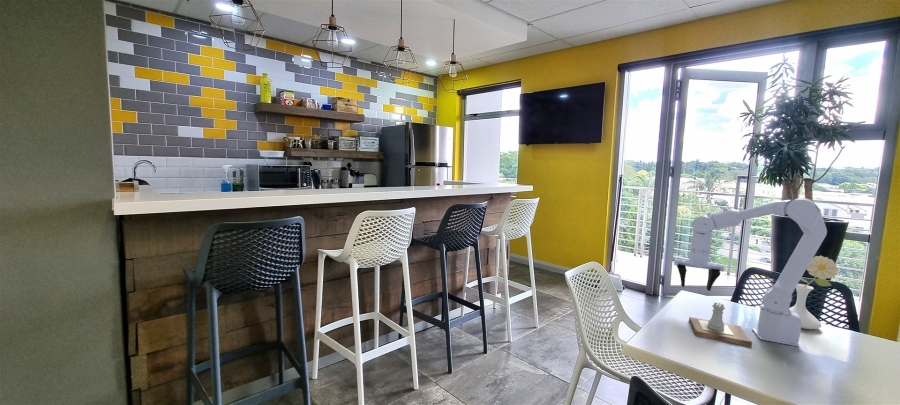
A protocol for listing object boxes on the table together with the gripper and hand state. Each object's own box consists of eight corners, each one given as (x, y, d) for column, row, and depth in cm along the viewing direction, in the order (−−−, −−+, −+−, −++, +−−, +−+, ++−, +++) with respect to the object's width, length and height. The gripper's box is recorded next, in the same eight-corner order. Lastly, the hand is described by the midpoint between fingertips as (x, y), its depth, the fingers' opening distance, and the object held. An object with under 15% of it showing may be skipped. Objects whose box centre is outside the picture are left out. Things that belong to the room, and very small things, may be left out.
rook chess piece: (727, 332, 115) (730, 307, 114) (711, 330, 116) (714, 305, 115) (720, 326, 119) (723, 302, 118) (704, 324, 120) (707, 300, 119)
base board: (739, 330, 121) (740, 325, 121) (751, 346, 110) (752, 341, 110) (688, 321, 126) (689, 316, 126) (695, 335, 116) (696, 330, 115)
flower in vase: (772, 323, 128) (783, 252, 125) (777, 315, 135) (788, 248, 132) (826, 338, 118) (839, 261, 115) (828, 328, 126) (841, 256, 123)
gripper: (677, 249, 129) (673, 287, 130) (728, 255, 123) (723, 295, 124) (674, 245, 135) (670, 281, 137) (723, 251, 129) (717, 288, 131)
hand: (695, 287), depth 131 cm, fingers open, 7 cm apart
